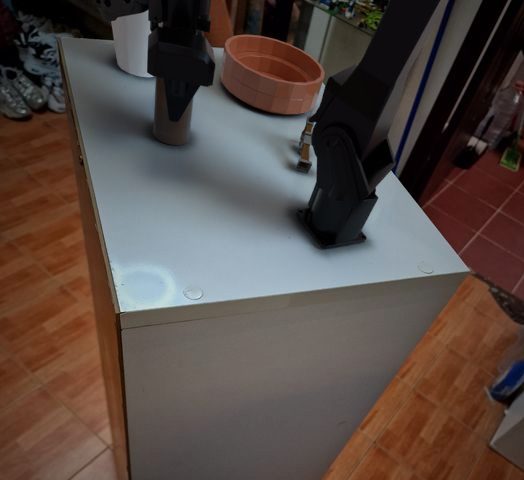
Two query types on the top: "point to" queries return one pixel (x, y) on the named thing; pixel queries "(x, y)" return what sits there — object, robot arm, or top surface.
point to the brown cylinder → (163, 126)
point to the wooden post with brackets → (305, 146)
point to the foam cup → (132, 43)
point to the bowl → (271, 74)
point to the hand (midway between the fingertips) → (173, 110)
